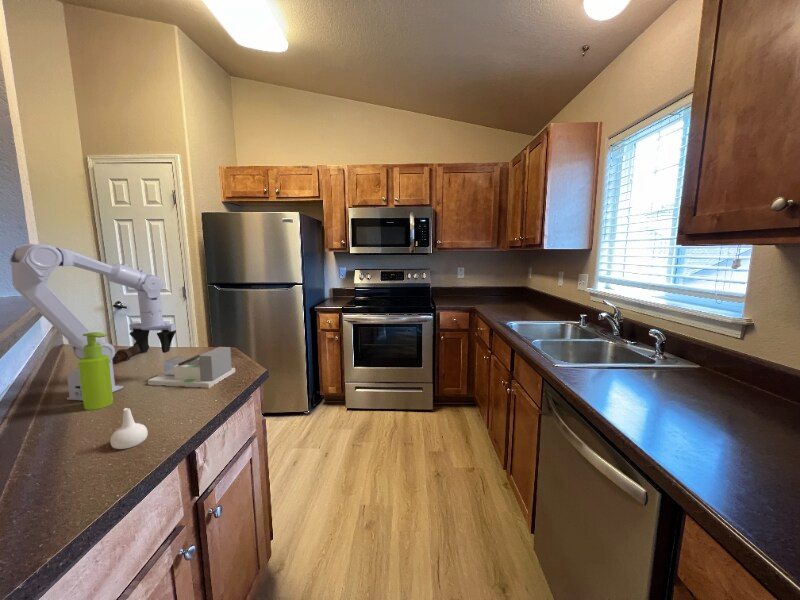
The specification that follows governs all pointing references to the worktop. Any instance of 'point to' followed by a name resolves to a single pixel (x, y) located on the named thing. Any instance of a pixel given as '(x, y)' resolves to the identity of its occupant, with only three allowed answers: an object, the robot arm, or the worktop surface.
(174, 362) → the grey block with bar
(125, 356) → the bolt
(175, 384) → the architectural block model
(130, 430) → the garlic bulb
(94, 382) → the soap dispenser
